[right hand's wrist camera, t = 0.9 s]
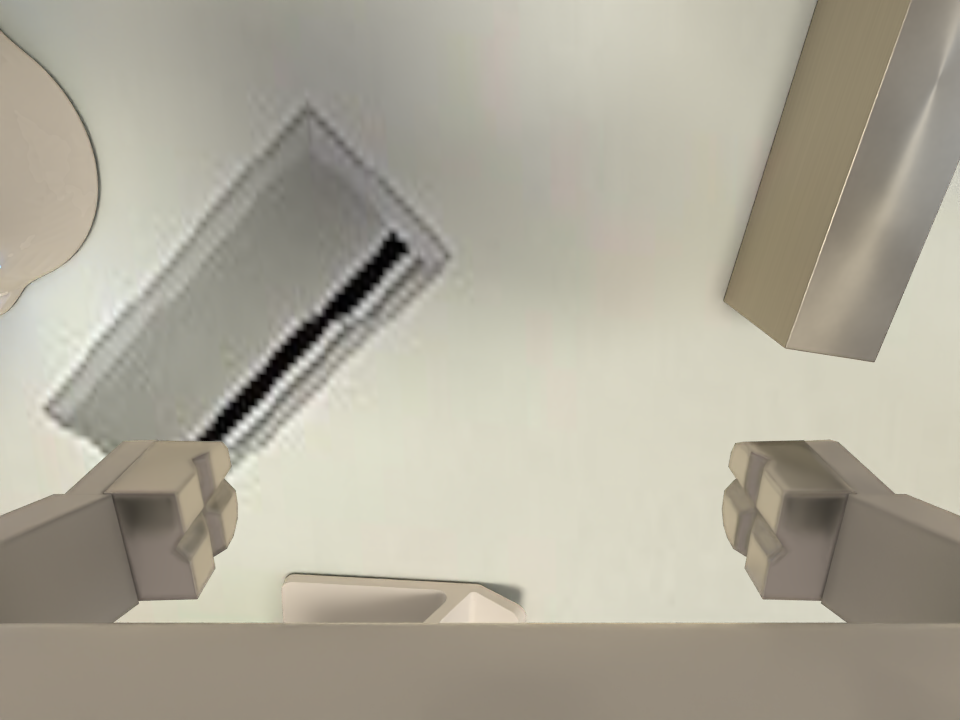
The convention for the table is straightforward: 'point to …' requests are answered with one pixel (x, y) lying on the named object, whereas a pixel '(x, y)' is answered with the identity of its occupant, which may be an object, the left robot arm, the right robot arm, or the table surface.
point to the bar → (853, 175)
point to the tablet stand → (392, 601)
